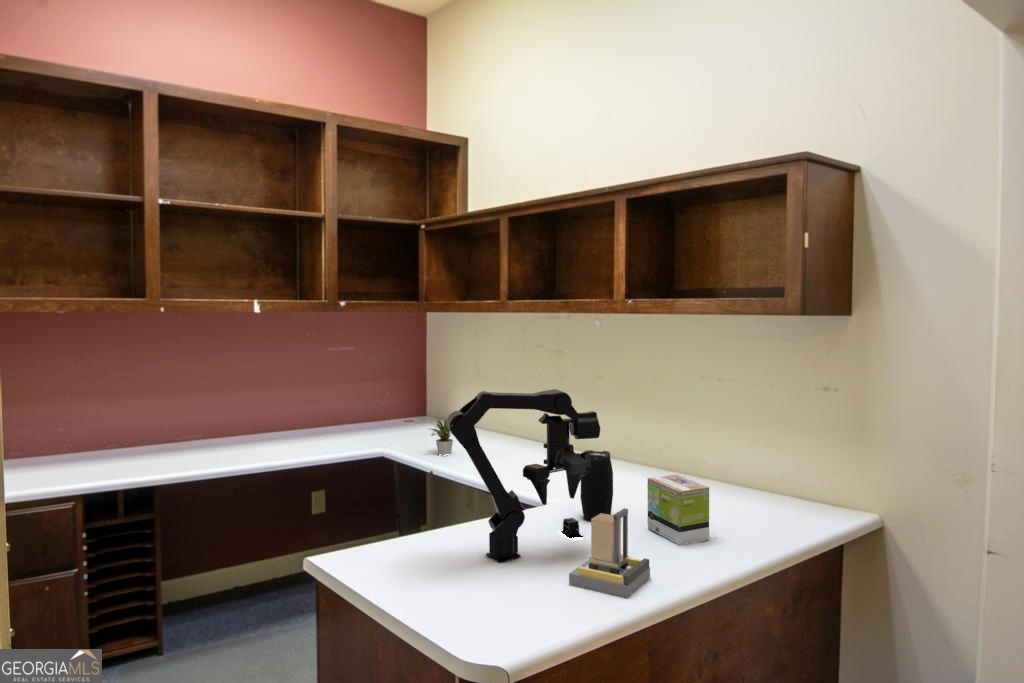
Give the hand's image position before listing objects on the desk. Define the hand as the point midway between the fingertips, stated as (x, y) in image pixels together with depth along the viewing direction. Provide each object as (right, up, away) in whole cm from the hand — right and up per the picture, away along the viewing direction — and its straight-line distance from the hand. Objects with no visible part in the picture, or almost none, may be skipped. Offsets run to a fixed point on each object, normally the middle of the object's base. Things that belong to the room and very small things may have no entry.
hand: (558, 501), depth 177 cm
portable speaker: (+13, -12, +28) cm, 33 cm away
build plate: (+4, -13, +14) cm, 20 cm away
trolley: (+10, -11, -18) cm, 23 cm away
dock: (+10, -14, -18) cm, 25 cm away
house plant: (-40, -7, +118) cm, 125 cm away
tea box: (+33, -12, +13) cm, 38 cm away
